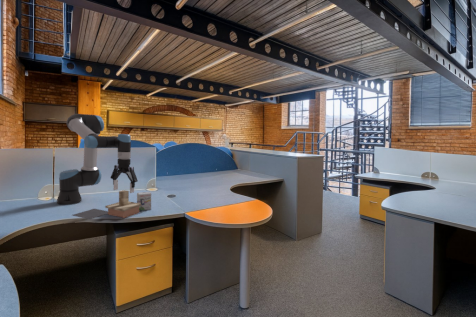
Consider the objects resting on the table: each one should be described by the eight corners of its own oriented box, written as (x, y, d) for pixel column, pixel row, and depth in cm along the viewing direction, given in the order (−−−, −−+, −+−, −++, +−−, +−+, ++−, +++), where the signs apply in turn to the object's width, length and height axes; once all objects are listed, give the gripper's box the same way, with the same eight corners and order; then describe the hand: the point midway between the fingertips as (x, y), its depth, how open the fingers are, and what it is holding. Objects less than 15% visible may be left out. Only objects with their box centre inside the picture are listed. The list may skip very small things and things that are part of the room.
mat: (71, 216, 157) (71, 215, 157) (94, 209, 172) (94, 208, 172) (89, 220, 152) (89, 219, 151) (112, 213, 166) (112, 212, 166)
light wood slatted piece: (105, 207, 161) (105, 191, 160) (123, 202, 175) (123, 187, 174) (123, 211, 155) (123, 194, 154) (141, 205, 169) (141, 190, 168)
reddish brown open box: (108, 215, 162) (108, 207, 161) (124, 210, 174) (124, 202, 173) (123, 218, 157) (123, 210, 157) (139, 212, 169) (139, 205, 169)
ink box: (149, 207, 182) (149, 191, 180) (151, 209, 177) (151, 193, 176) (136, 209, 176) (136, 192, 175) (138, 211, 172) (138, 194, 171)
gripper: (104, 157, 163) (104, 189, 165) (135, 160, 154) (134, 195, 156) (114, 156, 170) (113, 187, 172) (143, 159, 161) (143, 192, 163)
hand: (123, 191), depth 164 cm, fingers open, 13 cm apart
